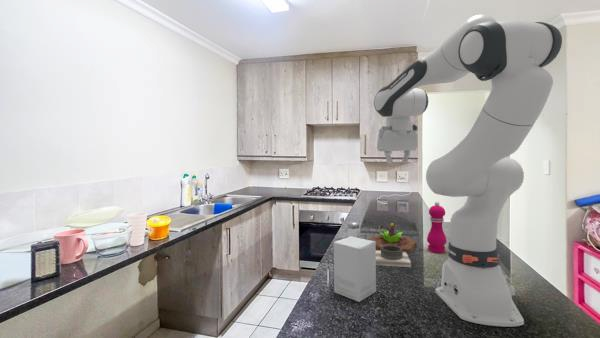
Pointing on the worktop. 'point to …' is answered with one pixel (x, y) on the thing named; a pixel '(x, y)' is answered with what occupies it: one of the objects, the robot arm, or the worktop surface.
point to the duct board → (392, 257)
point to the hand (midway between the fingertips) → (397, 162)
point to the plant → (393, 240)
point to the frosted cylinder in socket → (353, 229)
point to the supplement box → (355, 268)
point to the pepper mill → (436, 229)
